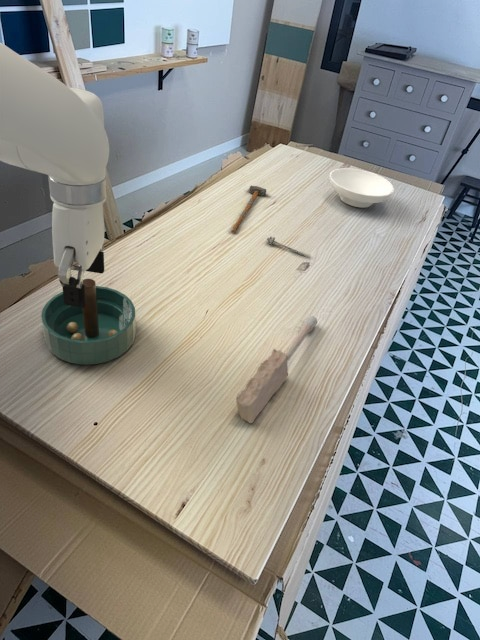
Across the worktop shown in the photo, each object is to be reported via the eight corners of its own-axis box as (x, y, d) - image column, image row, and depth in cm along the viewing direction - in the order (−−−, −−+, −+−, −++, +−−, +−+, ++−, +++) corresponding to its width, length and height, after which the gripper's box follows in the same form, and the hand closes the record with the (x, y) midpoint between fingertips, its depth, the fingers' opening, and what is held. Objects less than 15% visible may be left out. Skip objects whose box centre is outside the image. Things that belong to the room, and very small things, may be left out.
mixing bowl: (71, 380, 74) (67, 355, 71) (30, 327, 82) (25, 302, 79) (151, 344, 83) (152, 321, 80) (108, 299, 91) (107, 276, 88)
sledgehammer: (223, 232, 119) (241, 237, 118) (223, 225, 117) (242, 230, 117) (250, 190, 139) (266, 194, 139) (250, 184, 138) (267, 188, 137)
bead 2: (74, 342, 81) (66, 339, 79) (81, 332, 81) (73, 329, 79) (81, 347, 80) (73, 345, 78) (88, 338, 80) (80, 335, 78)
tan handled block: (299, 307, 94) (237, 383, 69) (320, 313, 92) (264, 393, 68) (293, 339, 97) (232, 422, 73) (313, 345, 96) (257, 432, 71)
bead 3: (105, 335, 80) (117, 336, 80) (107, 326, 81) (119, 327, 81) (106, 343, 81) (118, 343, 82) (108, 334, 83) (120, 334, 83)
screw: (266, 243, 117) (269, 235, 117) (306, 261, 115) (309, 253, 115) (265, 241, 115) (268, 234, 115) (305, 259, 113) (309, 252, 113)
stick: (89, 339, 81) (84, 289, 74) (82, 331, 82) (77, 281, 75) (101, 334, 83) (98, 284, 76) (94, 327, 84) (90, 277, 77)
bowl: (325, 183, 151) (331, 163, 147) (385, 196, 150) (392, 176, 146) (321, 208, 136) (328, 186, 132) (388, 223, 135) (396, 201, 131)
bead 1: (82, 328, 82) (75, 337, 81) (76, 323, 83) (69, 332, 83) (75, 322, 80) (67, 331, 80) (69, 318, 81) (61, 327, 81)
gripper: (72, 161, 72) (79, 256, 82) (25, 209, 58) (41, 316, 68) (121, 169, 72) (122, 263, 82) (85, 219, 58) (92, 324, 69)
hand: (85, 287), depth 75 cm, fingers open, 9 cm apart
